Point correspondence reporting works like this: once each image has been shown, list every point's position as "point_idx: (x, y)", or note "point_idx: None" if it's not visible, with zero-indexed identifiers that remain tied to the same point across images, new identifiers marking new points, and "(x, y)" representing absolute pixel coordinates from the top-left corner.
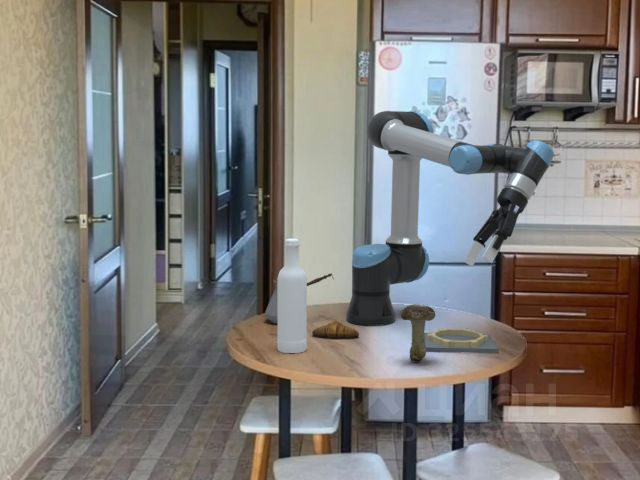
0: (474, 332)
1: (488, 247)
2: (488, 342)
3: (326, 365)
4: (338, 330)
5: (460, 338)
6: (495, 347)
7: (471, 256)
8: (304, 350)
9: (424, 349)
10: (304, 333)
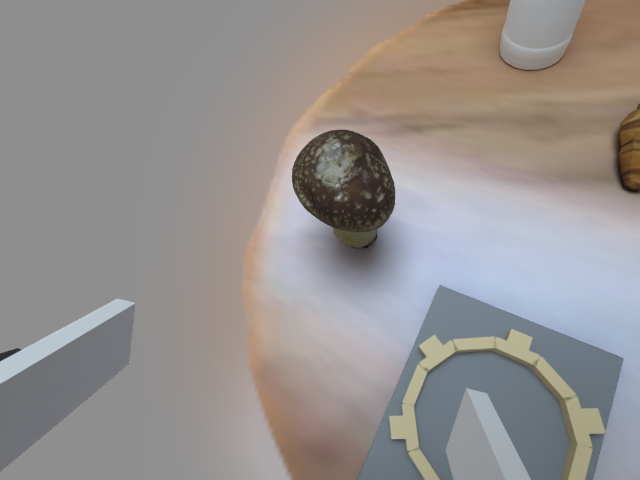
0: None
1: (64, 329)
2: None
3: (401, 85)
4: (628, 128)
5: None
6: None
7: (474, 458)
8: (510, 63)
9: (334, 230)
10: (519, 31)
